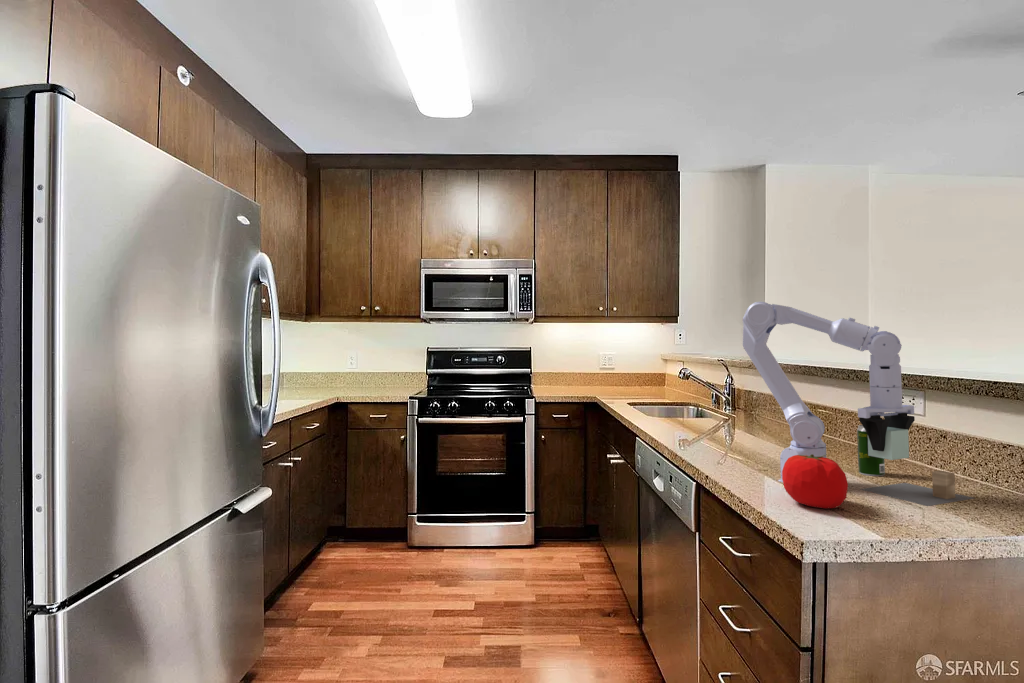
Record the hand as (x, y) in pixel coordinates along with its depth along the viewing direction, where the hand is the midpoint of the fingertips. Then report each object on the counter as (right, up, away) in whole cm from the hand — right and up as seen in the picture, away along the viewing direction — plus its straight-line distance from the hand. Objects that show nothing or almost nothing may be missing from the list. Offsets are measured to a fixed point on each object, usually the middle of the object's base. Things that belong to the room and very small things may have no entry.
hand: (887, 449), depth 116 cm
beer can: (+7, -10, +15) cm, 19 cm away
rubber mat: (+4, -9, -3) cm, 10 cm away
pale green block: (0, -2, 0) cm, 2 cm away
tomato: (-20, -10, -8) cm, 24 cm away
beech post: (+7, -9, -6) cm, 13 cm away
